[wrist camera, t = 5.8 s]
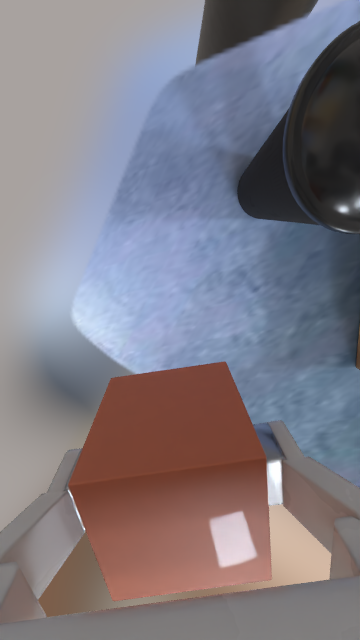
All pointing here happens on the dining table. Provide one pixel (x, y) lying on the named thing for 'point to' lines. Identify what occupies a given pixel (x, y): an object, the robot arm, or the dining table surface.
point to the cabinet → (358, 352)
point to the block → (174, 485)
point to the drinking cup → (314, 148)
